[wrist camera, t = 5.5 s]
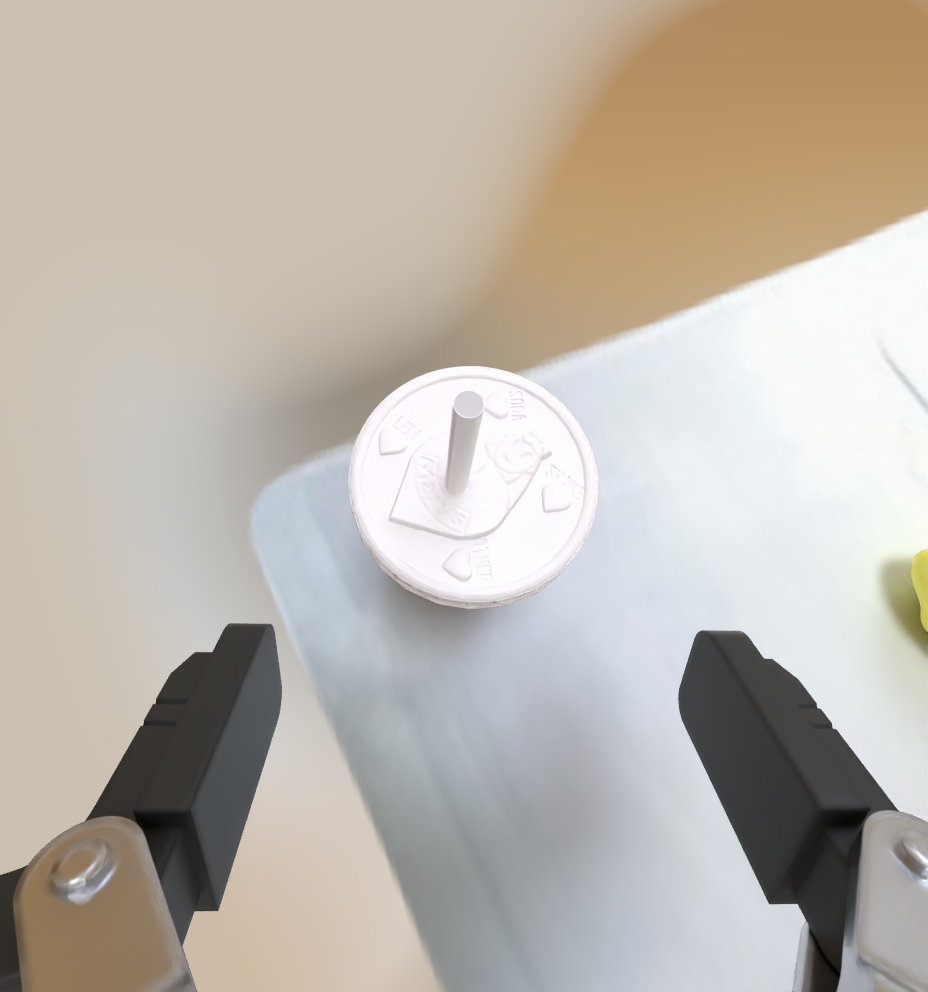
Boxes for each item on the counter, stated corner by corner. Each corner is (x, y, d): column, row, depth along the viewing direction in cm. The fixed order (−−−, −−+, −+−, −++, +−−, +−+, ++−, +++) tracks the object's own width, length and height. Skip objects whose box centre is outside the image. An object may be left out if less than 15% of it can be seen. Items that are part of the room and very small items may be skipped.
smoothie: (350, 523, 23) (252, 320, 10) (484, 457, 25) (554, 199, 11) (423, 665, 22) (419, 646, 8) (561, 586, 23) (746, 462, 10)
